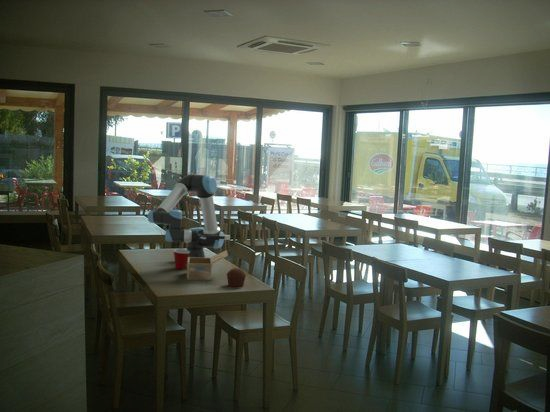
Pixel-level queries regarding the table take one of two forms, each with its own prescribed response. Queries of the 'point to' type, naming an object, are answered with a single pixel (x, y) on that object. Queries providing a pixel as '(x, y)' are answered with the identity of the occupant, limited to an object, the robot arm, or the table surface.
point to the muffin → (236, 277)
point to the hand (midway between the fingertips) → (229, 237)
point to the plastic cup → (180, 258)
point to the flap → (219, 256)
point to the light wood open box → (199, 268)
